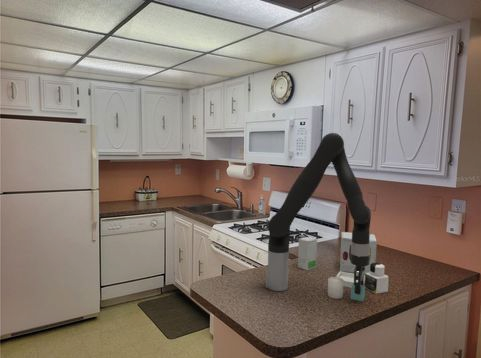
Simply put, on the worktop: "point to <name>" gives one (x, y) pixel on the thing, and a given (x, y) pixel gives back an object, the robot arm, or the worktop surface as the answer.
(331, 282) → the white rounded dome
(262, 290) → the worktop surface
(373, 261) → the supplement box
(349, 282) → the tray
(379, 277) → the medicine bottle
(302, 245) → the skincare box
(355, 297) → the block
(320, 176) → the robot arm
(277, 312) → the worktop surface
